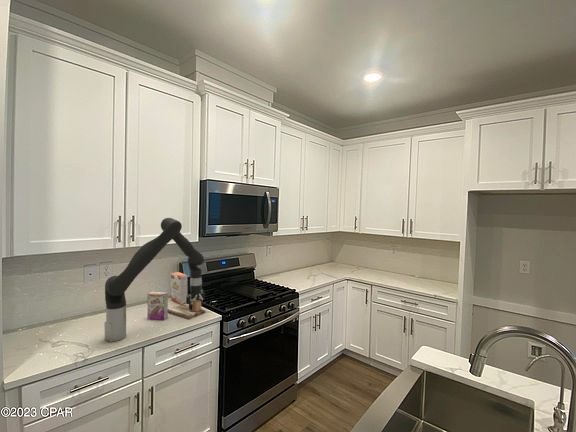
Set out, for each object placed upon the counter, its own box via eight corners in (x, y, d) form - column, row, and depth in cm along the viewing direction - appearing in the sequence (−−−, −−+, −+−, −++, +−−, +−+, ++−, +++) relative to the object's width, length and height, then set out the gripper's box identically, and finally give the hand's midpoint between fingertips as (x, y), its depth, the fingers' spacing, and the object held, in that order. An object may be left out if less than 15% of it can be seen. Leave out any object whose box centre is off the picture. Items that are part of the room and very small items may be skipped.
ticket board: (188, 319, 180) (188, 315, 180) (165, 312, 191) (165, 308, 191) (205, 312, 192) (205, 308, 192) (182, 306, 203) (182, 302, 203)
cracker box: (170, 300, 215) (170, 272, 214) (178, 298, 219) (178, 271, 218) (180, 304, 206) (180, 276, 205) (187, 302, 210) (187, 274, 209)
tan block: (196, 311, 189) (196, 302, 189) (190, 309, 192) (190, 301, 192) (201, 309, 193) (201, 300, 193) (194, 307, 196) (194, 299, 196)
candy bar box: (147, 319, 179) (147, 293, 179) (151, 316, 184) (151, 291, 184) (164, 320, 178) (164, 294, 178) (168, 317, 183) (168, 292, 182)
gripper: (191, 287, 184) (191, 312, 185) (207, 282, 196) (207, 305, 197) (183, 285, 188) (183, 309, 188) (200, 280, 200) (200, 303, 201)
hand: (195, 307), depth 193 cm, fingers open, 8 cm apart
